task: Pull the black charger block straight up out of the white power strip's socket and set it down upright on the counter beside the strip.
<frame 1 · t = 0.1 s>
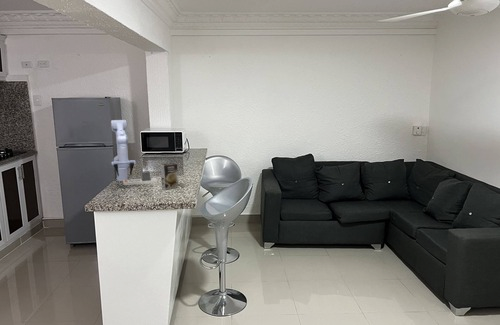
hand: (124, 175, 241), 10 cm above the countertop, tool pointing down, fingers open, 7 cm apart
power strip: (140, 183, 260), on the countertop
coffee box: (170, 188, 249), on the countertop
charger: (146, 181, 261), point 1 cm above the countertop, touching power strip
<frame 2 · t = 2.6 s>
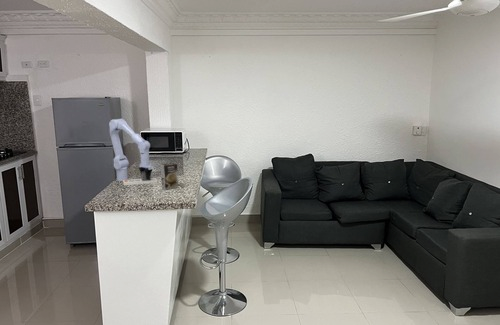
hand: (146, 178, 261), 4 cm above the countertop, tool pointing down, fingers closed on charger, 6 cm apart
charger: (146, 181, 261), point 1 cm above the countertop, touching gripper, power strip
everything else where it was.
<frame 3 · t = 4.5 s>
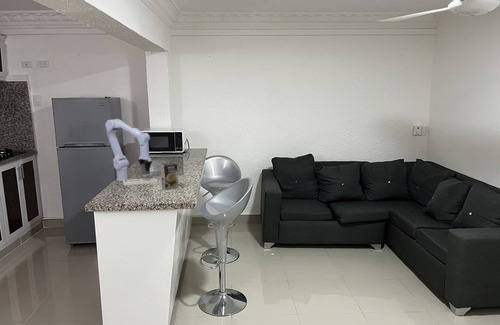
hand: (145, 170, 260), 9 cm above the countertop, tool pointing down, fingers closed on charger, 6 cm apart
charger: (145, 173, 260), point 7 cm above the countertop, touching gripper
everything else where it was.
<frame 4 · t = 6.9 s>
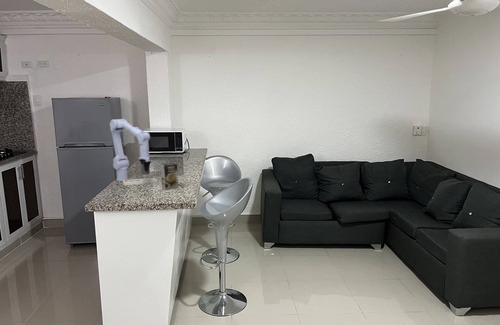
hand: (145, 170, 254), 10 cm above the countertop, tool pointing down, fingers closed on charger, 6 cm apart
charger: (145, 174, 254), point 8 cm above the countertop, touching gripper
everything else where it was.
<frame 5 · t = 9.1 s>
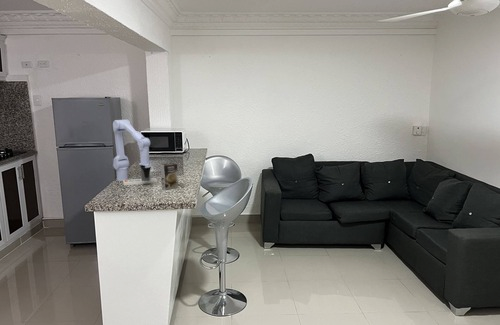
hand: (145, 176, 252), 7 cm above the countertop, tool pointing down, fingers closed on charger, 6 cm apart
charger: (146, 180, 252), point 4 cm above the countertop, touching gripper
everything else where it was.
when the fingers open (3 cm above the countertop, at t = 11.2 s): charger drops 1 cm, on the countertop.
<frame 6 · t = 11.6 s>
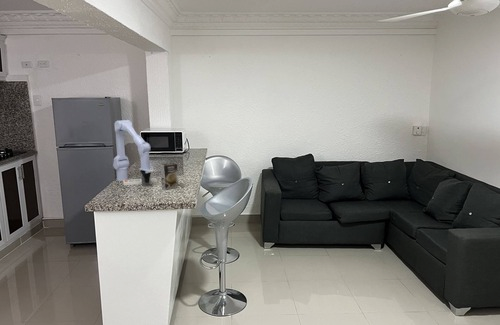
hand: (146, 181, 252), 3 cm above the countertop, tool pointing down, fingers open, 7 cm apart
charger: (146, 186, 253), on the countertop
everything else where it was.
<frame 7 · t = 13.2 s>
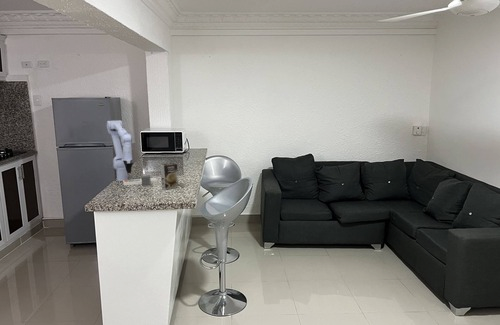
hand: (128, 172, 255), 9 cm above the countertop, tool pointing down, fingers open, 7 cm apart
nothing on the countertop moved.
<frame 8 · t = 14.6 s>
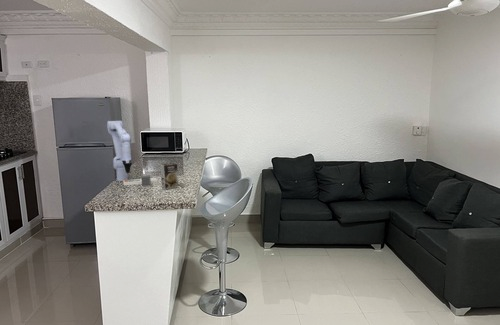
hand: (127, 171, 255), 9 cm above the countertop, tool pointing down, fingers open, 7 cm apart
nothing on the countertop moved.
at the end: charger inside the target area (0.5 cm from its centre), on the countertop; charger tilted 0°; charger touching countertop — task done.
